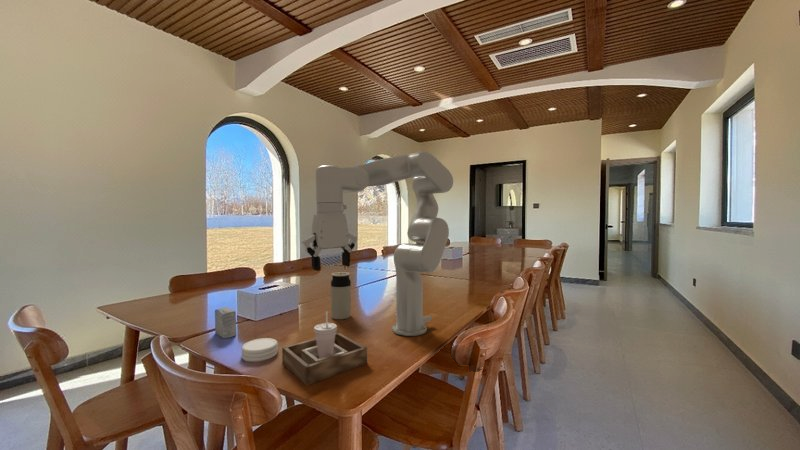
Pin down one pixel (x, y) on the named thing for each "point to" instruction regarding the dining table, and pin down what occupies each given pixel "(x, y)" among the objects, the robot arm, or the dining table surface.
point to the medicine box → (225, 322)
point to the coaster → (259, 349)
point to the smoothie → (325, 338)
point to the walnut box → (323, 359)
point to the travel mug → (340, 295)
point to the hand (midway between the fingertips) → (331, 267)
